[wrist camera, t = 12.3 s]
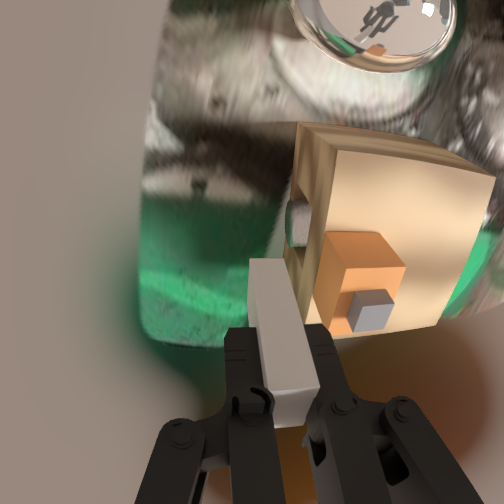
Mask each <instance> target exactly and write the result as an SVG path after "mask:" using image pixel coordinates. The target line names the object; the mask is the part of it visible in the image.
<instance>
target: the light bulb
mask: <svg viewBox="0 0 504 504" xmlns="http://www.w3.org/2000/svg"><path fill="white" fill-rule="evenodd" d="M287 3H288V7H289V10H290V13H291V15H292V17H293V19H294V23H295V26H296V28H297V30H298V31H299V33H300V34H301V35H302V36H303V37H305V38H306V39H307V40H309V41H310V42H311V43H312V44H313V45H314V46H315V47H316V48H317V49H319V50H320V51H321V52H323V53H324V54H325V55H327V56H328V57H329V58H331V59H333V60H335V61H337V62H339V63H341V64H343V65H345V66H348V67H351V68H354V69H357V70H361V71H364V72H370V73H376V74H395V73H403V72H408V71H412V70H415V69H417V68H419V67H421V66H423V65H425V64H427V63H430V62H432V61H433V60H434V59H435V58H436V57H438V56H439V55H440V54H441V53H442V52H443V50H444V49H445V48H446V46H447V45H448V44H449V42H450V41H451V39H452V36H453V34H454V31H455V26H456V19H457V2H456V0H287Z"/></svg>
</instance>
